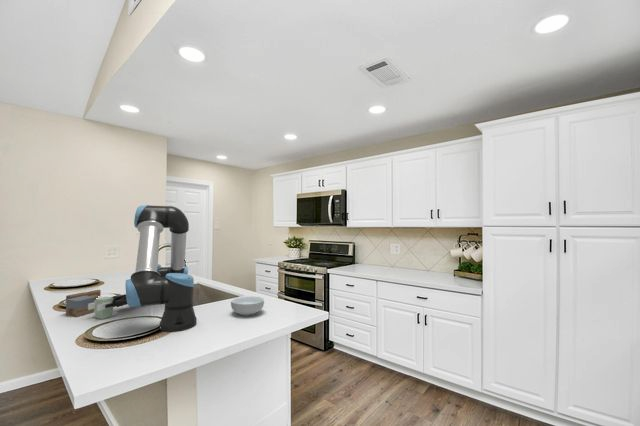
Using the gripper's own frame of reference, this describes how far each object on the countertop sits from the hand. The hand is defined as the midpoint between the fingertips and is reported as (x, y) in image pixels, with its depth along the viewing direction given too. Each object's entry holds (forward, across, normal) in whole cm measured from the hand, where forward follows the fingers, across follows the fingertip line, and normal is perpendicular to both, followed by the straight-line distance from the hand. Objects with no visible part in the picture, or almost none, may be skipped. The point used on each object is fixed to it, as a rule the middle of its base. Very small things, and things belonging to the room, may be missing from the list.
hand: (93, 307), depth 135 cm
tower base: (-5, +16, -6) cm, 18 cm away
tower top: (-5, +16, -2) cm, 17 cm away
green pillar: (-5, 0, -6) cm, 8 cm away
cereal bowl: (-34, -62, -7) cm, 71 cm away
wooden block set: (-23, +35, -7) cm, 43 cm away
